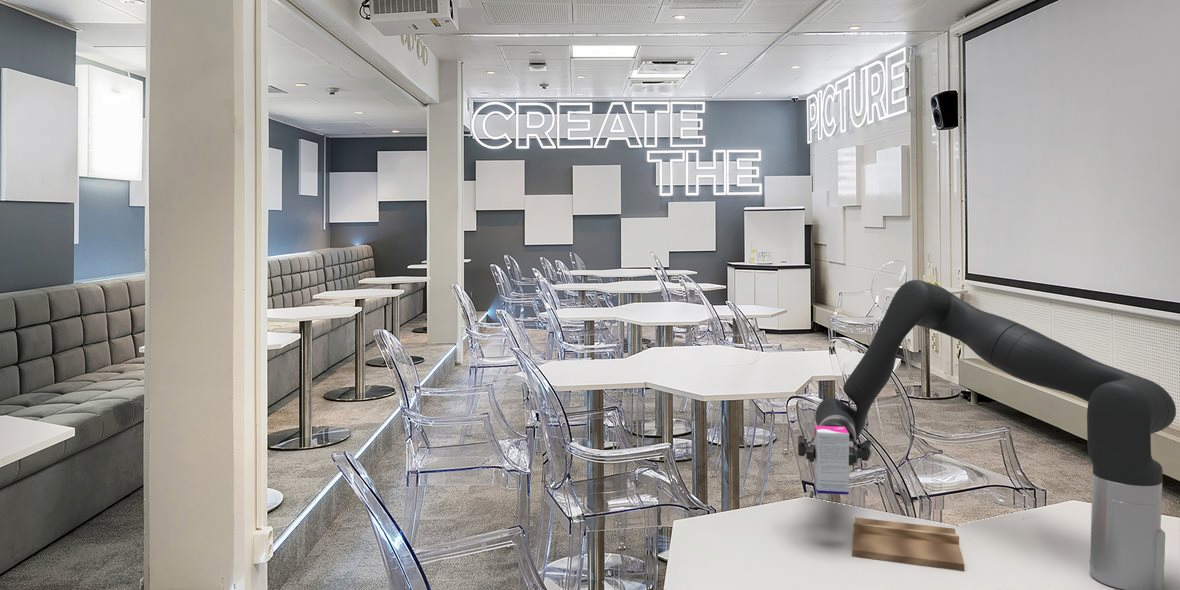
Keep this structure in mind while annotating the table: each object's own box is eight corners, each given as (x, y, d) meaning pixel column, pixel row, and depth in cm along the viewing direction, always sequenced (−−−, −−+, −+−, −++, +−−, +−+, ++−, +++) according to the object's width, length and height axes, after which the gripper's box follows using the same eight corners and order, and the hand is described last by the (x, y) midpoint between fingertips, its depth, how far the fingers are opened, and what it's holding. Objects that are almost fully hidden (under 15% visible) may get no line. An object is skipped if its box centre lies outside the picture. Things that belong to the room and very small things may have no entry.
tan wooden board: (954, 534, 141) (954, 520, 141) (964, 571, 126) (964, 555, 125) (854, 523, 148) (855, 509, 148) (852, 556, 132) (852, 541, 132)
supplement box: (850, 495, 134) (849, 433, 133) (816, 493, 135) (815, 432, 135) (846, 485, 140) (845, 425, 139) (813, 484, 141) (812, 424, 140)
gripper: (799, 416, 153) (790, 435, 137) (873, 420, 148) (873, 440, 132) (799, 451, 153) (790, 475, 138) (873, 457, 148) (873, 482, 132)
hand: (831, 458), depth 135 cm, fingers closed on supplement box, 6 cm apart
